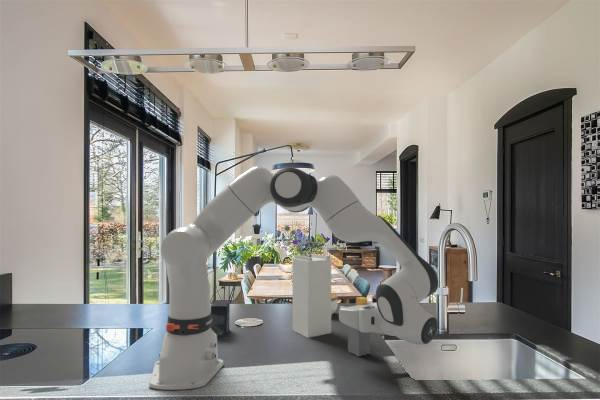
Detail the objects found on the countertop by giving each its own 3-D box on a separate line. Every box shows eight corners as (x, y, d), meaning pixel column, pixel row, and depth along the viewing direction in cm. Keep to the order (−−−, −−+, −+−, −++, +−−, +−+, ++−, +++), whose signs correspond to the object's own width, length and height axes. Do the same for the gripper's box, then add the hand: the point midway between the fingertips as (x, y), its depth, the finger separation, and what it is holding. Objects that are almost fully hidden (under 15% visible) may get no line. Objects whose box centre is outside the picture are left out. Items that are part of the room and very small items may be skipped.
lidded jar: (313, 310, 175) (313, 289, 175) (338, 311, 173) (338, 289, 173) (311, 317, 164) (310, 294, 164) (337, 318, 162) (337, 294, 163)
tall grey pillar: (331, 333, 143) (331, 256, 144) (307, 337, 138) (307, 257, 138) (315, 326, 151) (315, 253, 152) (292, 330, 146) (292, 255, 147)
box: (226, 336, 139) (226, 305, 139) (210, 336, 139) (210, 305, 139) (229, 329, 147) (229, 300, 147) (214, 329, 146) (214, 300, 147)
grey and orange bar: (369, 297, 123) (359, 294, 127) (358, 299, 120) (347, 296, 124) (370, 354, 122) (359, 349, 126) (358, 357, 120) (347, 352, 124)
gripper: (410, 301, 119) (378, 292, 131) (358, 310, 108) (327, 300, 120) (411, 322, 119) (378, 312, 131) (358, 333, 108) (327, 321, 120)
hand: (353, 306), depth 125 cm, fingers open, 8 cm apart
